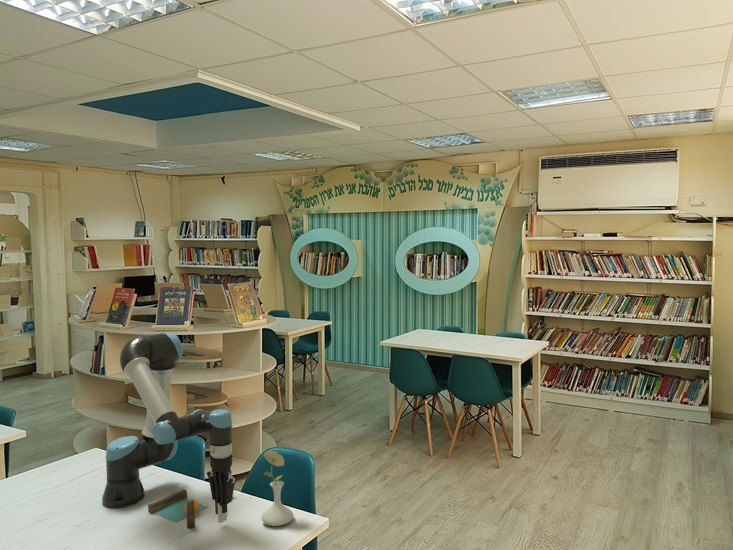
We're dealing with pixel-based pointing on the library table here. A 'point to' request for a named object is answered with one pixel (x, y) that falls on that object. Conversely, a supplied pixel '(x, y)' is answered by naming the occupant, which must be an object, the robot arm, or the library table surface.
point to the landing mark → (176, 510)
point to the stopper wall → (167, 501)
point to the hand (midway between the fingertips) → (222, 520)
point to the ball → (197, 506)
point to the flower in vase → (276, 495)
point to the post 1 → (190, 514)
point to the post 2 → (216, 508)
